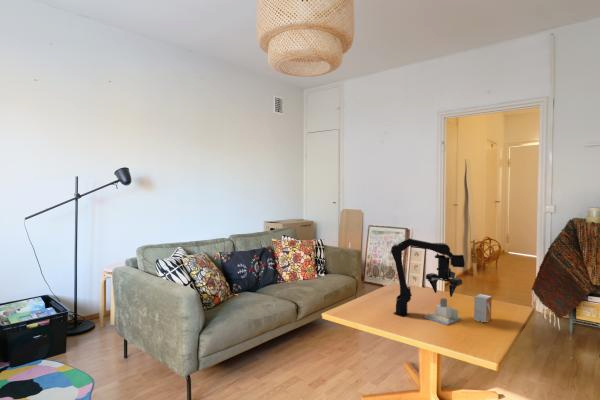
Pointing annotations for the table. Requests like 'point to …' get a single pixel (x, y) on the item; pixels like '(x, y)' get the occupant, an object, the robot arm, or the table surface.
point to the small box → (482, 308)
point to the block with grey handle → (443, 309)
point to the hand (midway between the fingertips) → (443, 294)
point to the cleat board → (442, 320)
